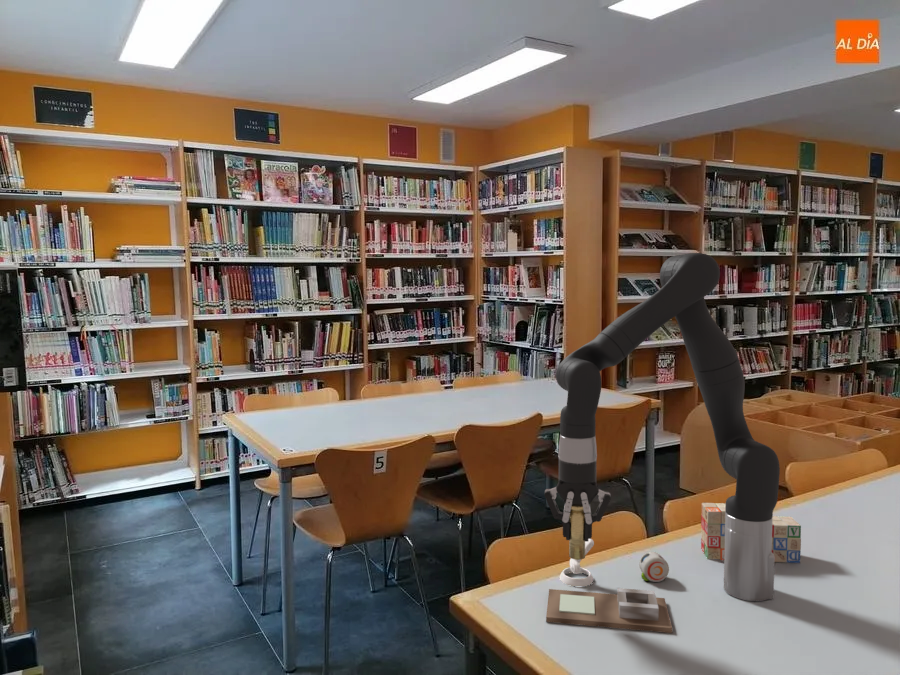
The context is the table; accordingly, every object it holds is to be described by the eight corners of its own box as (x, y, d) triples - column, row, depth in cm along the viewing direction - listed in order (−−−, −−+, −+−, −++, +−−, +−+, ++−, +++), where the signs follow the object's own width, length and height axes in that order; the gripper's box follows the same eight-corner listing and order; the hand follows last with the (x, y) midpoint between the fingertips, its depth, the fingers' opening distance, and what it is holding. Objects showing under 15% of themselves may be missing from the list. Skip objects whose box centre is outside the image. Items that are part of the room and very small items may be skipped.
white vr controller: (619, 564, 143) (595, 550, 141) (585, 603, 145) (561, 590, 144) (607, 544, 150) (585, 530, 148) (576, 582, 152) (553, 568, 151)
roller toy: (636, 574, 149) (637, 550, 149) (663, 573, 150) (664, 549, 149) (643, 583, 145) (643, 558, 145) (671, 582, 145) (671, 557, 145)
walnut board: (664, 602, 136) (664, 586, 136) (672, 633, 125) (672, 615, 124) (549, 593, 141) (549, 577, 141) (546, 621, 129) (546, 605, 129)
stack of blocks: (790, 552, 160) (792, 504, 159) (800, 563, 154) (802, 513, 153) (700, 549, 163) (701, 501, 162) (706, 559, 157) (707, 510, 156)
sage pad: (594, 598, 137) (594, 596, 137) (594, 614, 130) (594, 613, 130) (560, 595, 138) (560, 594, 138) (559, 611, 131) (559, 610, 131)
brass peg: (587, 552, 135) (587, 501, 134) (587, 561, 131) (587, 508, 130) (567, 551, 135) (567, 500, 134) (566, 559, 131) (567, 506, 131)
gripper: (612, 453, 134) (611, 534, 135) (543, 450, 136) (543, 530, 138) (614, 463, 126) (613, 549, 128) (541, 460, 129) (541, 544, 130)
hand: (577, 539), depth 133 cm, fingers closed on brass peg, 3 cm apart
